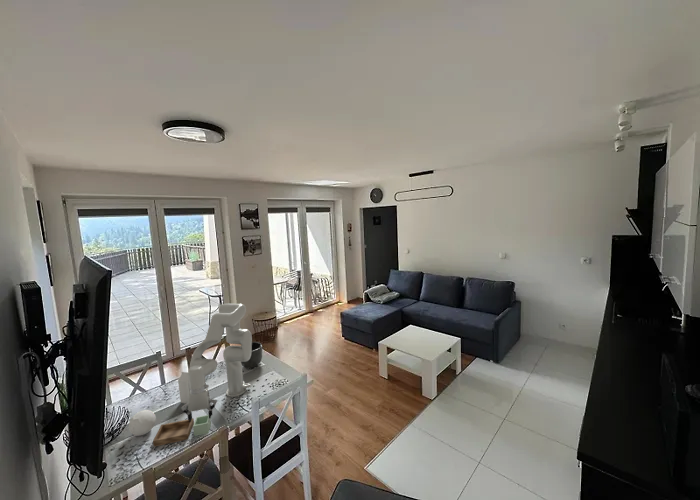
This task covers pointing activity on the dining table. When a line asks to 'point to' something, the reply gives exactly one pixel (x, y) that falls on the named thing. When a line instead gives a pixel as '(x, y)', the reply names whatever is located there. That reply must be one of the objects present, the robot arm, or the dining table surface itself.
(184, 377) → the milk carton
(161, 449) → the dining table surface
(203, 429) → the sage bin
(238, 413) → the dining table surface
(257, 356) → the planter
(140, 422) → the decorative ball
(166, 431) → the walnut crate
